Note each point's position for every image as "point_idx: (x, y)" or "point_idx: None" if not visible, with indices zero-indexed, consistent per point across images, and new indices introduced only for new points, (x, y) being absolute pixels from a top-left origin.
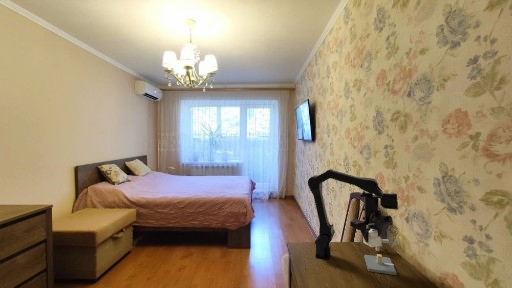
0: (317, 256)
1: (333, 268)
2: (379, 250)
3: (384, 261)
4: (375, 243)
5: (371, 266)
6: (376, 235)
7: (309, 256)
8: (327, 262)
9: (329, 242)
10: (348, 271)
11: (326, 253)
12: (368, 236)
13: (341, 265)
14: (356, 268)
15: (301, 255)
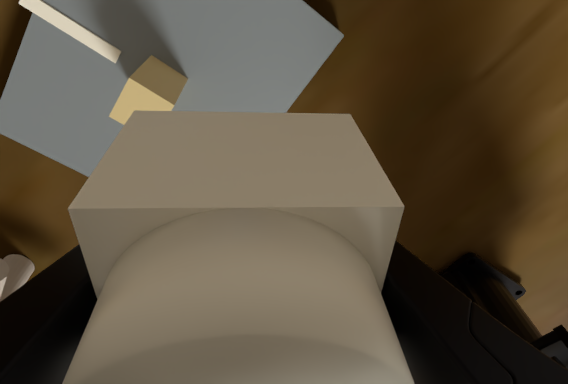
0: (514, 290)
1: (547, 155)
2: (5, 258)
3: (88, 87)
4: (256, 136)
5: (286, 53)
6: (215, 256)
7: (536, 304)
8: (508, 227)
9: (557, 360)
10: (491, 85)
11: (485, 292)
12: (382, 298)
13: (459, 171)
14: (394, 101)
15: (564, 320)
